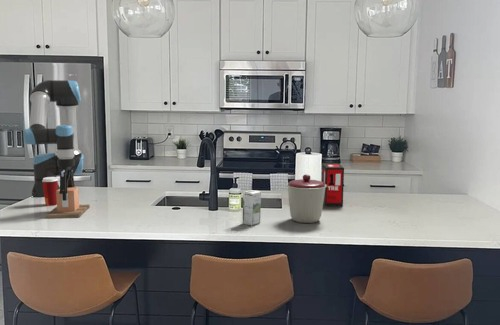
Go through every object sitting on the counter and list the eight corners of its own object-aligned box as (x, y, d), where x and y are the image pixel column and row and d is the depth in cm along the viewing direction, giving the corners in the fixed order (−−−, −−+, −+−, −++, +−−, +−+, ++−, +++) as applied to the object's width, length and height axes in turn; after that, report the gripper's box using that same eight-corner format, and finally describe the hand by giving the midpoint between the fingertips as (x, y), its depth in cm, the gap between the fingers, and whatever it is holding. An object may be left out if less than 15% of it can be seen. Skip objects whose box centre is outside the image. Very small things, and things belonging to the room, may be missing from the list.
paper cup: (62, 203, 240) (60, 176, 238) (54, 206, 233) (53, 179, 231) (48, 202, 241) (46, 176, 239) (40, 206, 233) (38, 179, 231)
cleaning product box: (321, 199, 252) (322, 163, 249) (337, 199, 252) (338, 163, 249) (325, 206, 235) (326, 167, 233) (342, 206, 235) (344, 167, 233)
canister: (284, 224, 200) (285, 177, 197) (286, 214, 218) (287, 170, 215) (326, 226, 198) (327, 178, 195) (325, 216, 215) (326, 171, 212)
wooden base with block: (58, 207, 229) (57, 189, 228) (89, 207, 231) (88, 188, 230) (45, 218, 210) (44, 197, 208) (79, 217, 211) (78, 197, 210)
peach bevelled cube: (62, 207, 224) (61, 187, 222) (79, 207, 225) (78, 187, 223) (57, 211, 216) (56, 190, 214) (74, 211, 217) (73, 190, 215)
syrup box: (250, 221, 206) (250, 189, 204) (260, 223, 202) (261, 191, 200) (242, 223, 202) (242, 191, 200) (252, 226, 198) (252, 193, 196)
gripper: (64, 155, 227) (66, 199, 230) (50, 161, 206) (53, 210, 209) (79, 155, 228) (82, 199, 231) (67, 160, 207) (70, 209, 210)
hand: (68, 204), depth 220 cm, fingers open, 9 cm apart
